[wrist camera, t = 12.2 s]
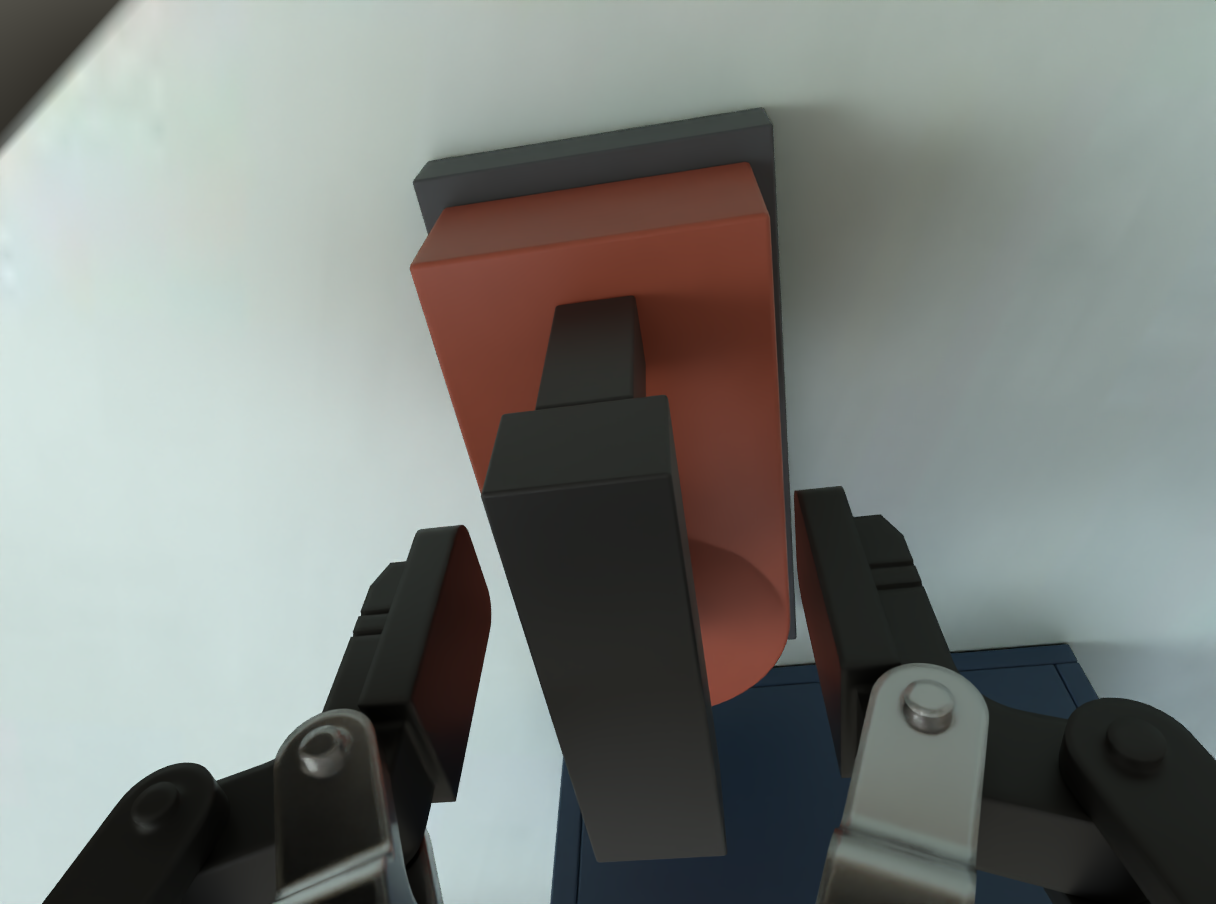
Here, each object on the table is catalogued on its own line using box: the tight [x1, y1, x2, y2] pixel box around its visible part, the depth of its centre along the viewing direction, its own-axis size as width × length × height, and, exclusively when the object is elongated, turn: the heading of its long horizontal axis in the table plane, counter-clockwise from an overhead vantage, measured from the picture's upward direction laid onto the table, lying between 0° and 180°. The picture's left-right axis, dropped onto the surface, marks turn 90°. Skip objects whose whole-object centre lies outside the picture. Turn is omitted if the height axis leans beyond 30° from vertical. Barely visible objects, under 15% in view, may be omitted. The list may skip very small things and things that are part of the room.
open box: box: [550, 644, 1099, 904], centre depth 22 cm, size 13×9×8 cm
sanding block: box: [410, 108, 796, 862], centre depth 14 cm, size 12×6×8 cm, turn 9°
